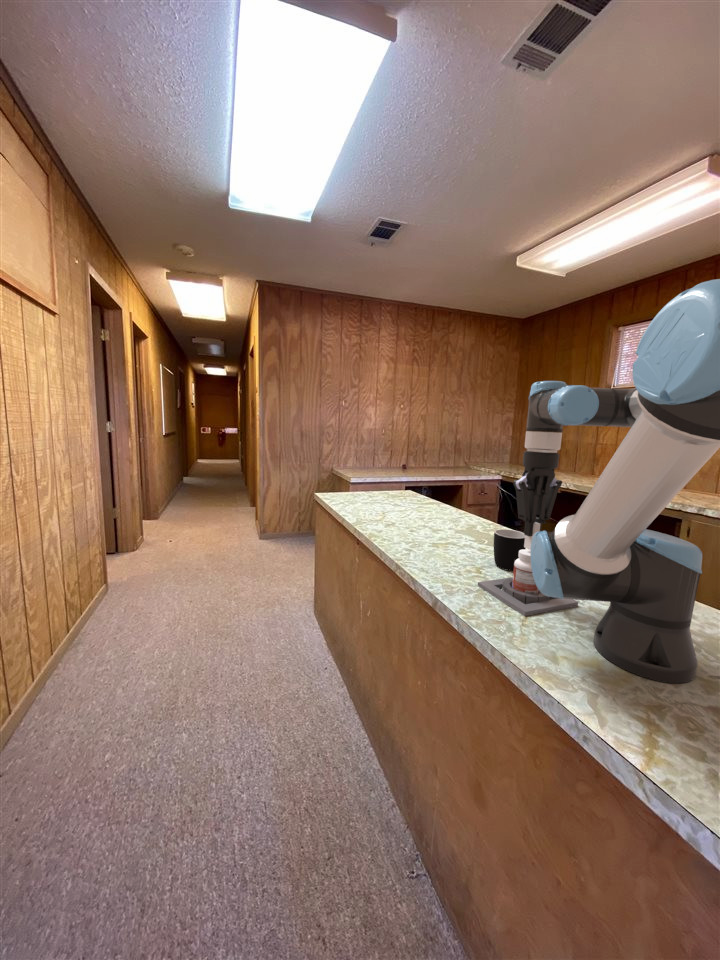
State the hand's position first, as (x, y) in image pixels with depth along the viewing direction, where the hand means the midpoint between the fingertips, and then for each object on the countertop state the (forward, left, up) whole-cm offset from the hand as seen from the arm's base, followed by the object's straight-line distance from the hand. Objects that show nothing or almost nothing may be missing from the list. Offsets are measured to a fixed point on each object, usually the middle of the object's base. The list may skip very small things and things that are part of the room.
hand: (530, 548), depth 91 cm
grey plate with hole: (0, 0, -12) cm, 12 cm away
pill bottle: (0, 0, -12) cm, 12 cm away
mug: (+18, -10, -12) cm, 24 cm away
